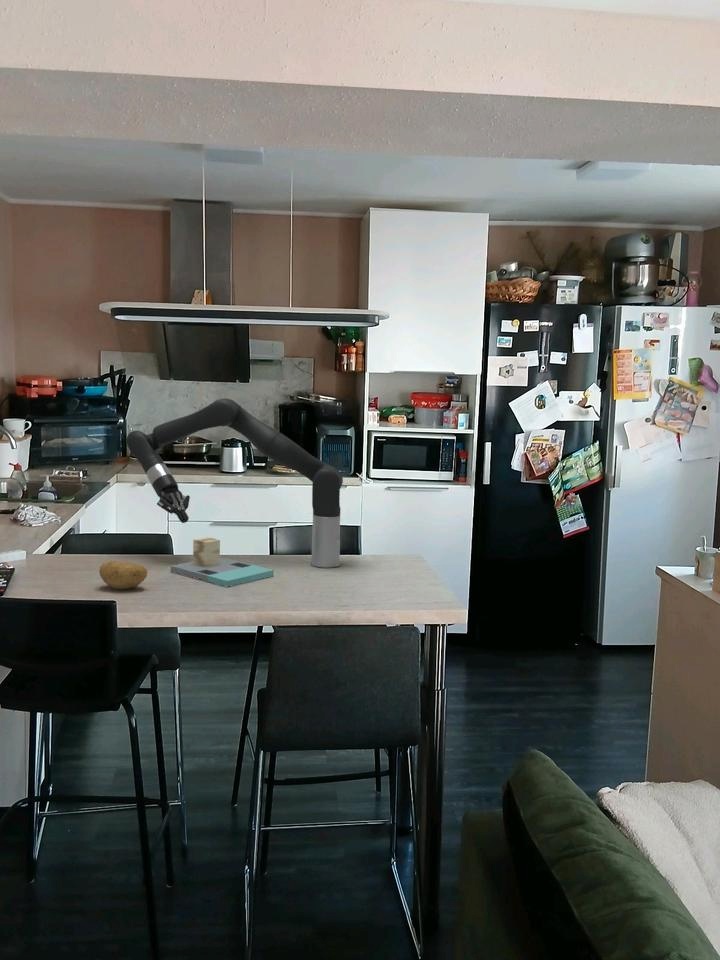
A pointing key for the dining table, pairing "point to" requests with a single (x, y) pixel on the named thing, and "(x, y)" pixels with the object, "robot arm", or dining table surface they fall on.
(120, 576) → the potato
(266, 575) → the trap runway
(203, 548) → the maple block
